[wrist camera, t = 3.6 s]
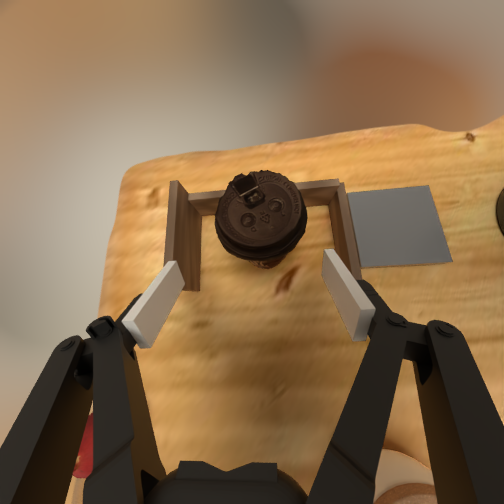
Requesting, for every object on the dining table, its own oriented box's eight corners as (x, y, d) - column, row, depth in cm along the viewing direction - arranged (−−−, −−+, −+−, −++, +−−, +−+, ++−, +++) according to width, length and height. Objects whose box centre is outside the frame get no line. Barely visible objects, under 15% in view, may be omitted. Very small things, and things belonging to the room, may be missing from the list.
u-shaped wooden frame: (334, 198, 28) (357, 160, 21) (348, 283, 25) (382, 277, 17) (196, 210, 30) (170, 181, 23) (193, 291, 27) (161, 288, 19)
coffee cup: (244, 216, 29) (223, 155, 17) (297, 224, 28) (317, 163, 15) (232, 270, 27) (198, 247, 15) (288, 280, 26) (304, 264, 14)
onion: (113, 449, 23) (35, 524, 16) (105, 399, 25) (31, 445, 17) (155, 431, 23) (97, 498, 16) (145, 383, 25) (88, 421, 17)
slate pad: (421, 190, 27) (428, 185, 26) (444, 263, 24) (452, 261, 23) (344, 197, 28) (347, 192, 27) (357, 268, 25) (361, 267, 24)
